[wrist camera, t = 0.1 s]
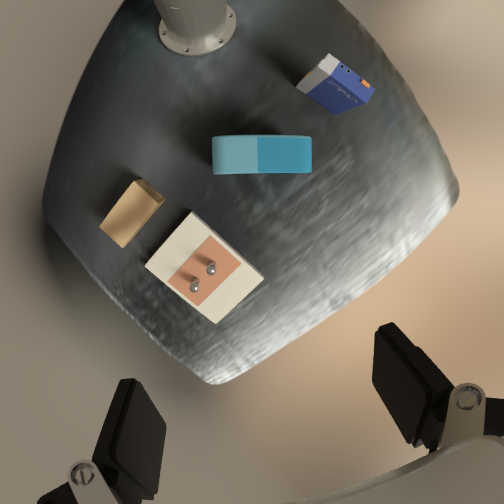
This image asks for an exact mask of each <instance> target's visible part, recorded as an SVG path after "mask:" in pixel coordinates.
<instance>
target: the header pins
mask: <svg viewBox="0 0 504 504" xmlns="http://www.w3.org/2000/svg"><path fill="white" fill-rule="evenodd" d="M206 272H207V274H208V275H214V274H215V272H216V262H215V261H213V260H210V261H209V262H208V264H207V270H206ZM199 283H200V280H199V278H197V277H194V278H192V280H191V284H190V288H189V289H190V291H191V292H193V293H195V292H197V291H198V288H199Z"/></svg>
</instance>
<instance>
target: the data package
mask: <svg viewBox="0 0 504 504" xmlns="http://www.w3.org/2000/svg"><path fill="white" fill-rule="evenodd" d="M212 159H213V173H214V174H240V173H310V172H311V171H312V150H311V137H309V136H299V135H226V136H215V137H213V138H212Z"/></svg>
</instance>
